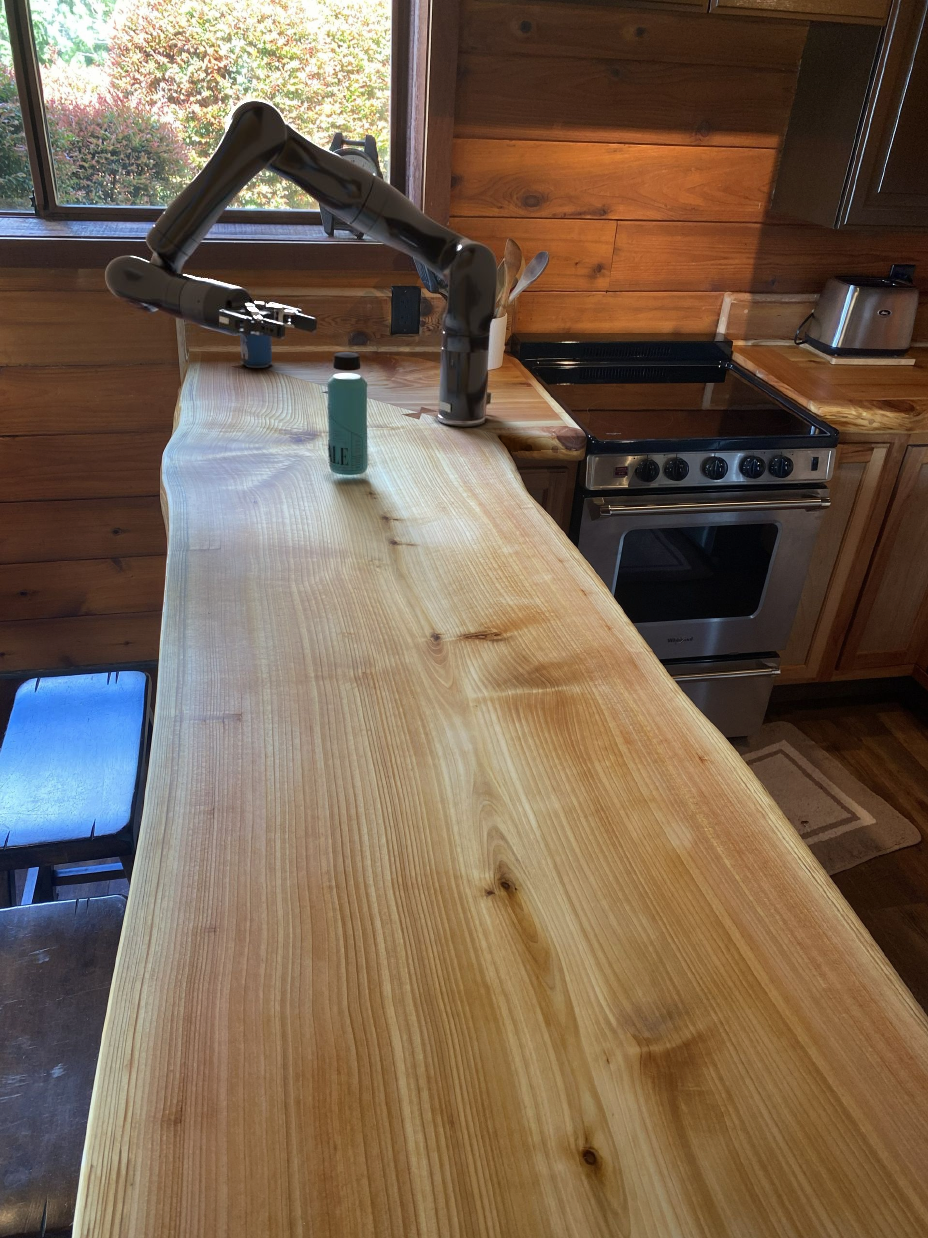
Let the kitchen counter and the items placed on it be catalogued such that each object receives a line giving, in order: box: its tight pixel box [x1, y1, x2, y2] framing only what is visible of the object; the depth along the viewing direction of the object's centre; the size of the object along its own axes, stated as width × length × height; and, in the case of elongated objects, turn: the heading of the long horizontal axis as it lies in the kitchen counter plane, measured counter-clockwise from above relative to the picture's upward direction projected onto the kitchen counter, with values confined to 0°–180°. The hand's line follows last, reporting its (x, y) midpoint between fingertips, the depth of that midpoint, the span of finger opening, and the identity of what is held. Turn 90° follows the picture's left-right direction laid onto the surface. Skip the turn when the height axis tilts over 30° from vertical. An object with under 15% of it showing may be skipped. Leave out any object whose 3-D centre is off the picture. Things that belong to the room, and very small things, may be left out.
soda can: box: [239, 333, 273, 369], centre depth 207 cm, size 7×7×12 cm
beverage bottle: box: [326, 351, 369, 476], centre depth 142 cm, size 6×7×20 cm
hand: (300, 328), depth 140 cm, fingers open, 8 cm apart
